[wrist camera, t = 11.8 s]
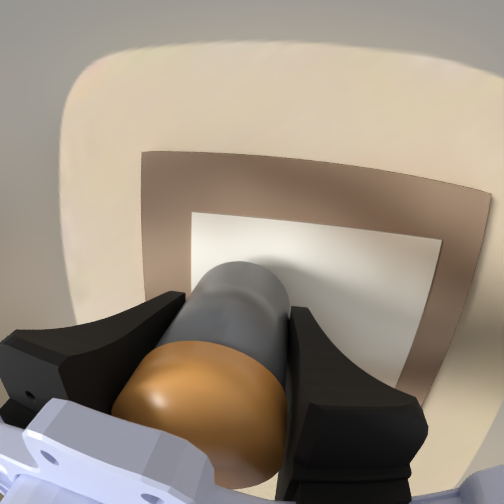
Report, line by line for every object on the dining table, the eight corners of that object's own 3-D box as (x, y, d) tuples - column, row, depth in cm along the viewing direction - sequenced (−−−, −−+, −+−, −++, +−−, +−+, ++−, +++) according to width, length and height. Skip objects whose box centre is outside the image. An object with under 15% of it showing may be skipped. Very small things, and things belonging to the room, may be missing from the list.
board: (389, 445, 18) (392, 458, 17) (168, 425, 20) (163, 436, 19) (480, 190, 12) (493, 194, 11) (150, 151, 14) (139, 152, 13)
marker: (285, 343, 14) (272, 498, 7) (196, 331, 15) (128, 466, 7) (299, 258, 13) (300, 404, 5) (198, 246, 13) (95, 363, 6)
